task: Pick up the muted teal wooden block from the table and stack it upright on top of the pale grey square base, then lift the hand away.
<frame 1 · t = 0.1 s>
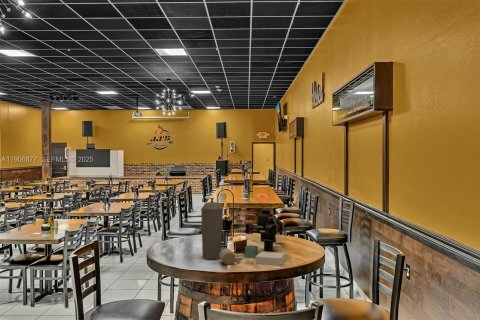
hand: (257, 231, 244), 17 cm above the table, tool horizontal, fingers open, 9 cm apart
teal block: (251, 256, 254), on the table
canister: (212, 258, 251), on the table
grey base: (270, 261, 241), on the table
ceramic mug: (229, 263, 238), on the table
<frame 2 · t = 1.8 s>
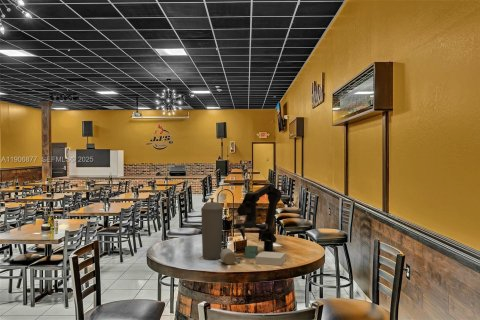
hand: (251, 240, 254), 9 cm above the table, tool pointing down, fingers open, 9 cm apart
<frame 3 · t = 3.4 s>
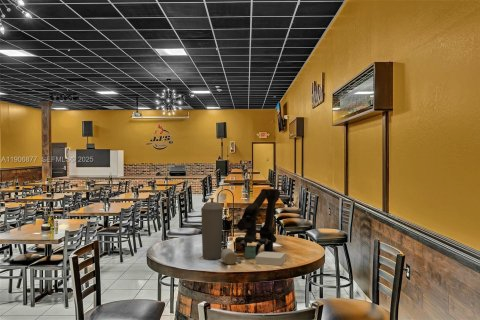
hand: (251, 254, 254), 1 cm above the table, tool pointing down, fingers closed on teal block, 6 cm apart
teal block: (251, 256, 254), on the table, touching gripper
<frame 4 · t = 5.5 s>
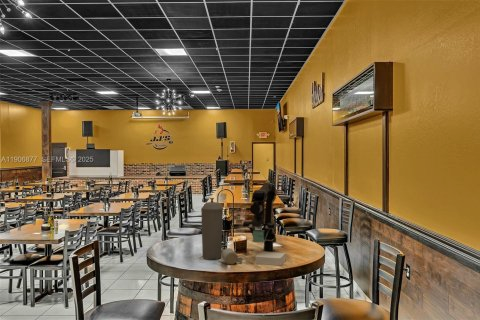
hand: (259, 239, 248), 11 cm above the table, tool pointing down, fingers closed on teal block, 6 cm apart
teal block: (259, 241, 248), point 10 cm above the table, touching gripper
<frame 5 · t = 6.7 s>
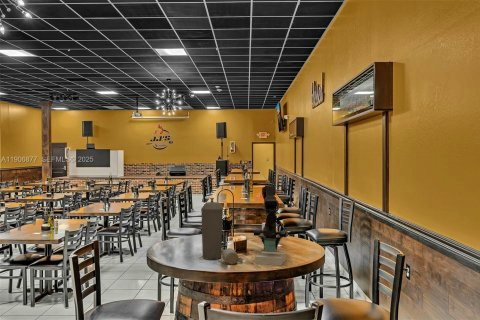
hand: (270, 248, 241), 7 cm above the table, tool pointing down, fingers closed on teal block, 6 cm apart
teal block: (270, 250, 241), point 6 cm above the table, touching gripper
when the fingers open (6 cm above the table, at t = 7.7 s): teal block drops 1 cm, resting on grey base.
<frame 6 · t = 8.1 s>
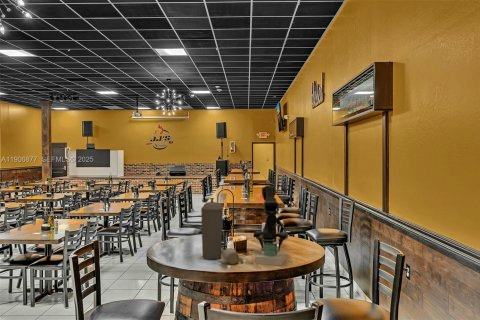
hand: (270, 250, 241), 6 cm above the table, tool pointing down, fingers open, 9 cm apart
teal block: (270, 254, 241), point 4 cm above the table, touching grey base
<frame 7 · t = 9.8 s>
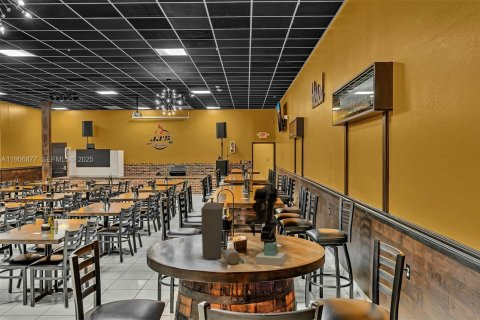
hand: (261, 236, 253), 12 cm above the table, tool pointing down, fingers open, 9 cm apart
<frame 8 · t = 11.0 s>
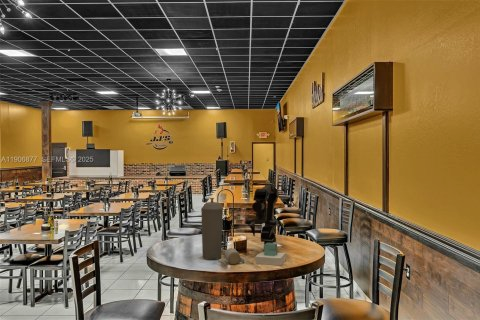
hand: (261, 236, 253), 12 cm above the table, tool pointing down, fingers open, 9 cm apart
at the end: teal block inside the target area on the grey base (0.0 cm from its centre), point 4.0 cm above the grey base's base; teal block tilted 0°; the gripper is holding nothing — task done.
